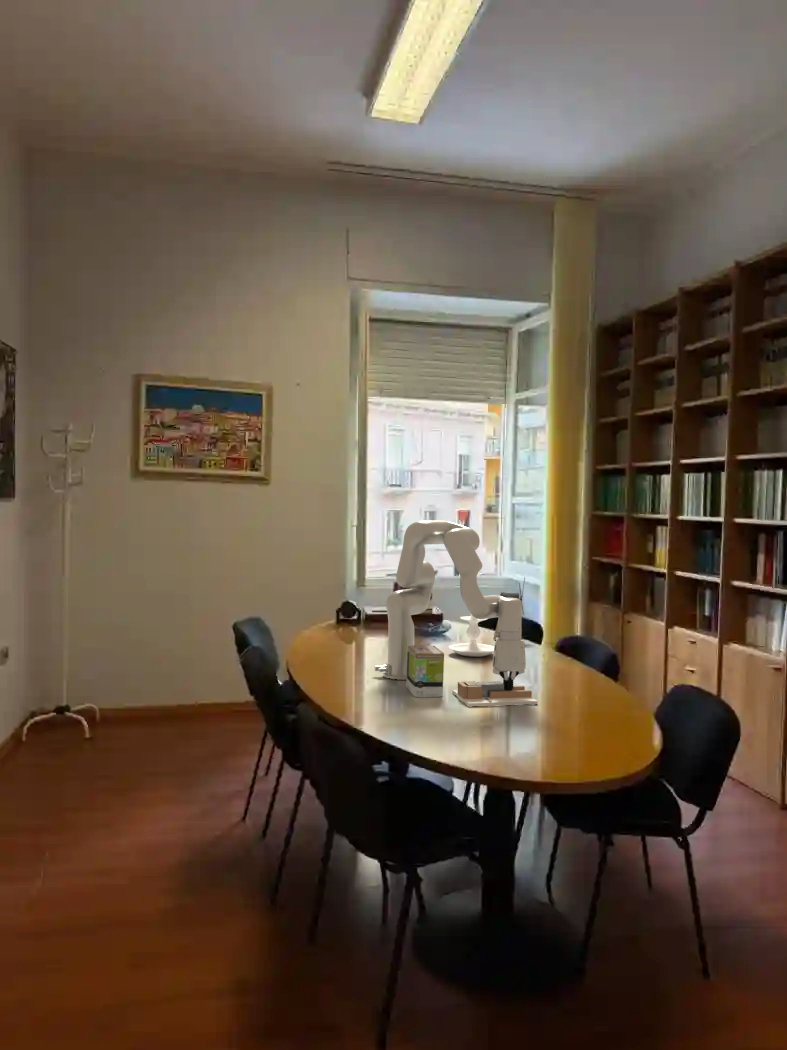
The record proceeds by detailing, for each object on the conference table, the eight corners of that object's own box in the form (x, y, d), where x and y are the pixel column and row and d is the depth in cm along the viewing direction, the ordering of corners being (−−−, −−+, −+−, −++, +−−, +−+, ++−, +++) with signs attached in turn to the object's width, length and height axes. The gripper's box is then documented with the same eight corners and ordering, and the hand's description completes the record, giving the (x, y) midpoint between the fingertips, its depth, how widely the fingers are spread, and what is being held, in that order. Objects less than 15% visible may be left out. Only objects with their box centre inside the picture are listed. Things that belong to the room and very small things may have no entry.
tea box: (443, 697, 266) (444, 652, 265) (413, 698, 264) (414, 653, 264) (434, 686, 281) (435, 644, 280) (405, 687, 279) (406, 644, 279)
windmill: (520, 645, 364) (522, 579, 363) (489, 643, 368) (491, 577, 367) (526, 637, 384) (528, 574, 383) (496, 635, 388) (498, 573, 387)
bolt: (468, 697, 261) (468, 685, 261) (464, 694, 265) (465, 682, 265) (503, 696, 263) (504, 684, 263) (499, 693, 267) (499, 681, 267)
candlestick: (511, 660, 329) (513, 592, 328) (451, 659, 328) (452, 591, 327) (502, 650, 350) (504, 586, 349) (445, 650, 349) (447, 585, 348)
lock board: (468, 707, 254) (468, 690, 254) (452, 693, 271) (452, 677, 271) (537, 704, 258) (537, 688, 258) (517, 691, 276) (517, 676, 276)
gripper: (491, 638, 260) (490, 694, 261) (535, 637, 263) (533, 693, 264) (484, 634, 267) (482, 689, 268) (526, 633, 270) (525, 687, 271)
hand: (508, 691), depth 266 cm, fingers closed
